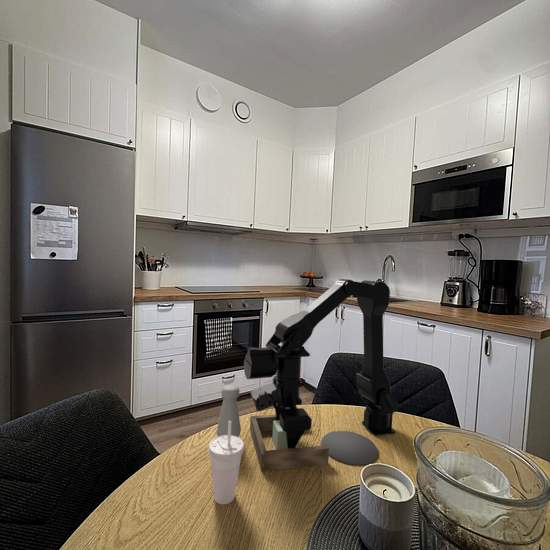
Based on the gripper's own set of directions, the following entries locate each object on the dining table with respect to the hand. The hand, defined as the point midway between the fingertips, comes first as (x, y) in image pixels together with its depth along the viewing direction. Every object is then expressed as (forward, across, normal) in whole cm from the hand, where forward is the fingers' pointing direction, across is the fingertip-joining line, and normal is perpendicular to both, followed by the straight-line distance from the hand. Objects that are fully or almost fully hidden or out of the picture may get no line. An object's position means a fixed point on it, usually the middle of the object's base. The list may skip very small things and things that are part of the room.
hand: (285, 440), depth 73 cm
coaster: (+1, +3, +15) cm, 15 cm away
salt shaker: (+2, -4, -13) cm, 14 cm away
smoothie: (+2, +14, -15) cm, 21 cm away
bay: (+1, 0, 0) cm, 1 cm away
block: (+1, 0, 0) cm, 1 cm away
